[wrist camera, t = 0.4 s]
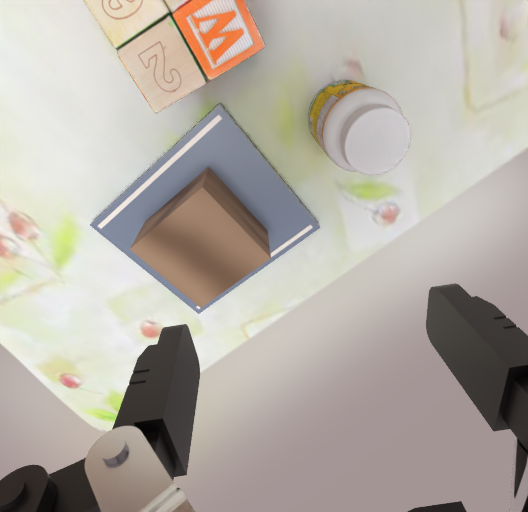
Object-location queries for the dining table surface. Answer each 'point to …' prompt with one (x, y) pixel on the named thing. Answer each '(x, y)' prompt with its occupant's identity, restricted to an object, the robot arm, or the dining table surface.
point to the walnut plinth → (203, 239)
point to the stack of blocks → (177, 42)
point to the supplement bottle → (359, 127)
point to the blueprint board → (231, 174)
